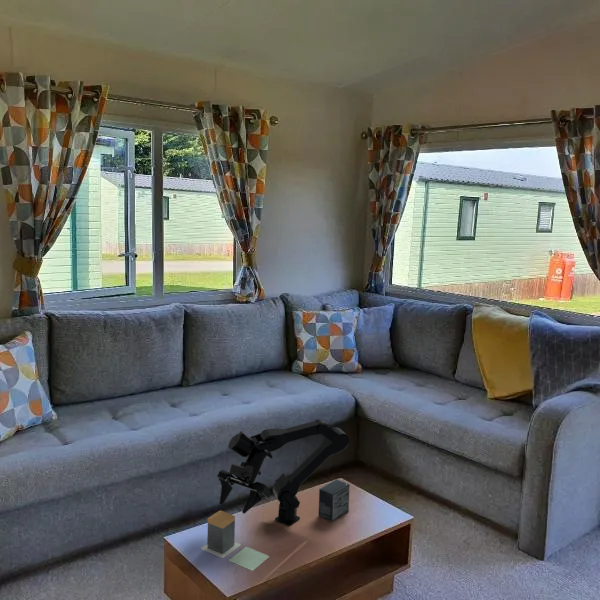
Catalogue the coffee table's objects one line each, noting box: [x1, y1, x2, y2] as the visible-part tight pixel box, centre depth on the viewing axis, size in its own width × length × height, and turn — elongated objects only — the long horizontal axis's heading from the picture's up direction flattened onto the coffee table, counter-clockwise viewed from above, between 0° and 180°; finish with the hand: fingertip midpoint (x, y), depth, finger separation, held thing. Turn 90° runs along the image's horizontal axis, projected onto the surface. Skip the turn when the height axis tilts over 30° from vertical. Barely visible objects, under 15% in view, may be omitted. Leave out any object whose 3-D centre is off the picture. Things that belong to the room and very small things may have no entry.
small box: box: [318, 479, 350, 523], centre depth 209 cm, size 11×6×10 cm, turn 141°
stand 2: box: [228, 546, 270, 572], centre depth 179 cm, size 9×9×1 cm
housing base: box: [206, 520, 236, 554], centre depth 184 cm, size 6×6×8 cm
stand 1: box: [200, 541, 242, 559], centre depth 185 cm, size 9×9×1 cm
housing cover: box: [207, 510, 236, 529], centre depth 184 cm, size 6×6×3 cm
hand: (231, 508), depth 188 cm, fingers open, 9 cm apart
